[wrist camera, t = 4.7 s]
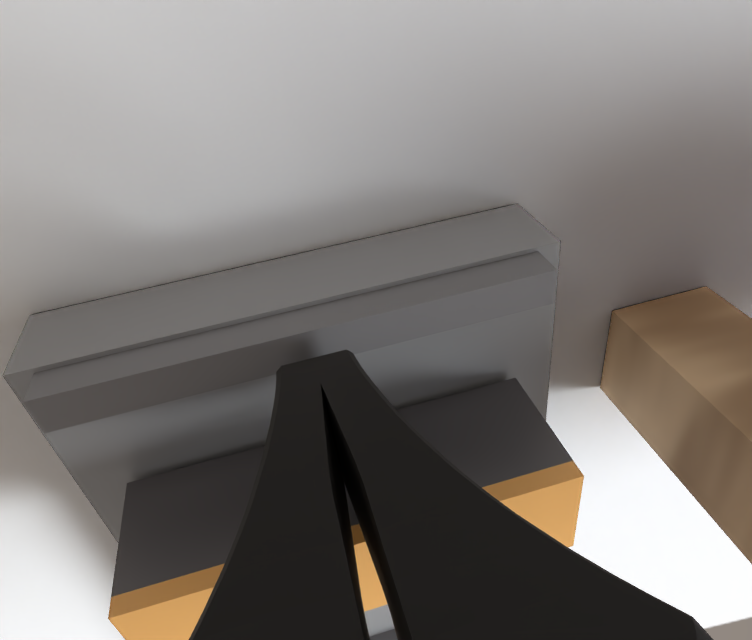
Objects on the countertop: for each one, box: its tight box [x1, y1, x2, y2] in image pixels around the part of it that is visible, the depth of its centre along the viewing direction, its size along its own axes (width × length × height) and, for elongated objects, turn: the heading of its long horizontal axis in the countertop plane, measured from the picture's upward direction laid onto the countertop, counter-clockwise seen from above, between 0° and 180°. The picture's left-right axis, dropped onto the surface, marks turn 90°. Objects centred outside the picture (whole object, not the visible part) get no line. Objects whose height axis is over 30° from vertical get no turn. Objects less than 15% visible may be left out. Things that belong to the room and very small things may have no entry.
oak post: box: [600, 286, 752, 564], centre depth 14 cm, size 3×3×7 cm
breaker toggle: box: [108, 378, 584, 640], centre depth 12 cm, size 9×2×3 cm, turn 97°
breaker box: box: [3, 204, 561, 640], centre depth 16 cm, size 11×15×3 cm
